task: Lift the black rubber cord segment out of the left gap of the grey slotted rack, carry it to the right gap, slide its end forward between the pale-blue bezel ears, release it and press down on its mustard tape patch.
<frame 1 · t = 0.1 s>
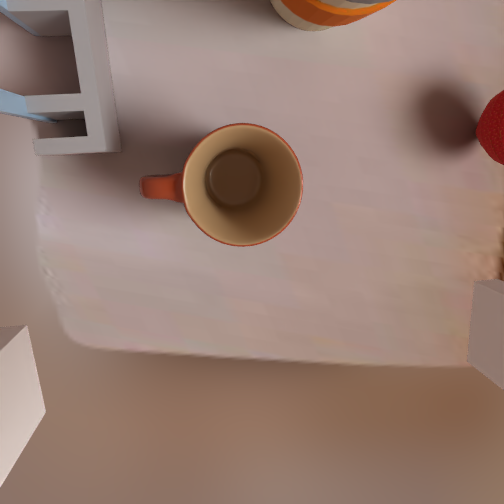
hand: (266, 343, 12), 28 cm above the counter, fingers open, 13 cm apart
strawberry: (478, 130, 40), on the counter
blue bezel: (44, 71, 34), on the counter
mug: (215, 178, 38), on the counter
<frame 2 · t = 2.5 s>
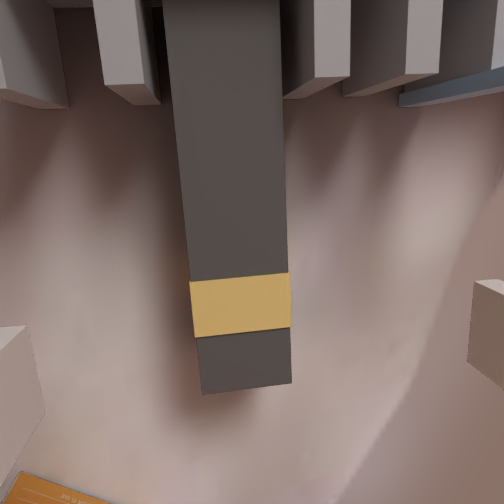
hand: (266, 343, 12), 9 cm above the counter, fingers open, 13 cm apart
blue bezel: (477, 97, 20), on the counter
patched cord: (227, 195, 20), on the counter
grey slotted rack: (364, 82, 19), on the counter
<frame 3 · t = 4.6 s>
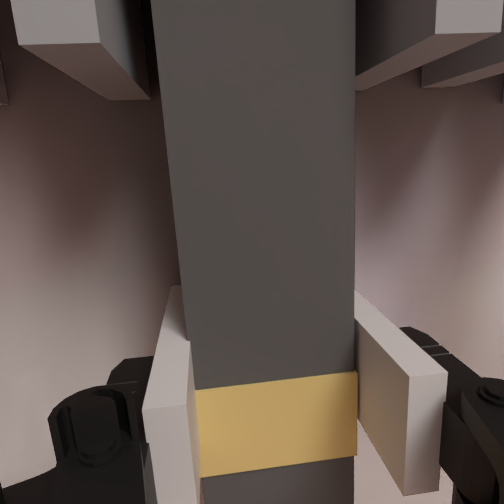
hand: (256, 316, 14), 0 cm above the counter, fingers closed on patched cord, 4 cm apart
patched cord: (248, 234, 13), on the counter, touching gripper
grey slotted rack: (454, 66, 13), on the counter
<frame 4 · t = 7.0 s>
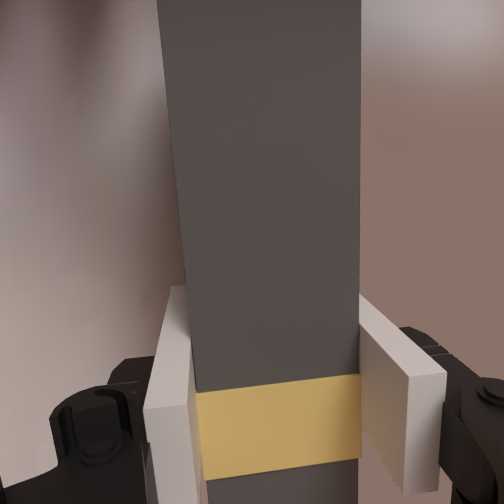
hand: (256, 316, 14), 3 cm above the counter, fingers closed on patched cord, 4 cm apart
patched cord: (250, 235, 13), point 3 cm above the counter, touching gripper
when the fingers open (1 cm above the counter, at t = 9.2 s): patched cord stays where it is, on the counter.
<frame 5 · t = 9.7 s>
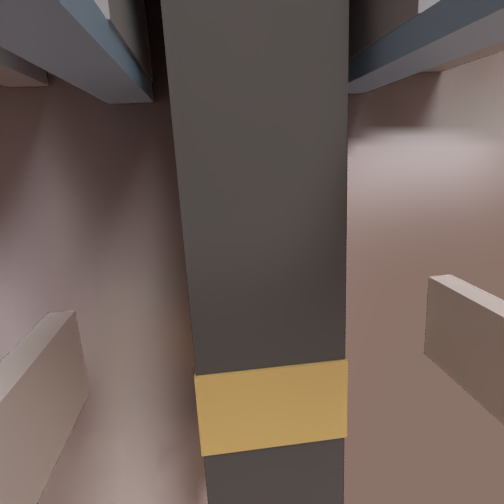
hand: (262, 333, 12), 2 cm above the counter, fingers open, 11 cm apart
blue bezel: (240, 88, 13), on the counter
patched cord: (247, 231, 14), on the counter
grey slotted rack: (41, 64, 12), on the counter
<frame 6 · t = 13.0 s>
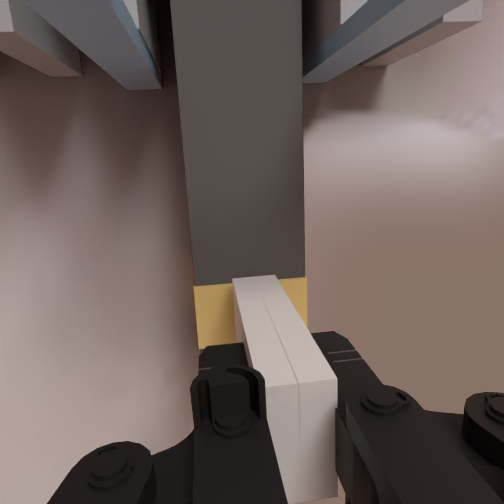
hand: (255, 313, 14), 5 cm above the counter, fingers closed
blue bezel: (228, 78, 17), on the counter
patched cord: (235, 191, 18), on the counter
grey slotted rack: (77, 59, 16), on the counter
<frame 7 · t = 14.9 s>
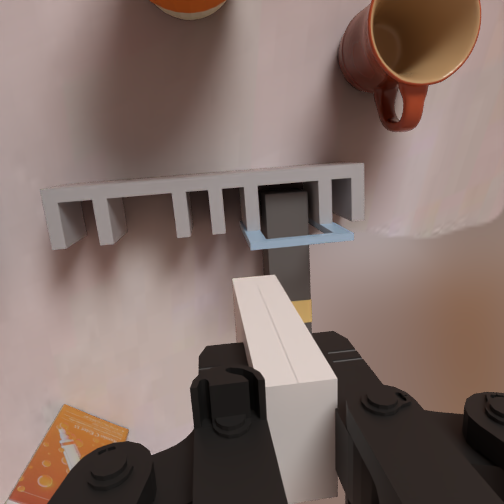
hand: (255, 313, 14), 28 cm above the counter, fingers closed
small box: (86, 435, 45), on the counter
blue bezel: (279, 220, 42), on the counter
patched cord: (281, 262, 43), on the counter
mug: (368, 74, 39), on the counter
grey slotted rack: (221, 216, 41), on the counter
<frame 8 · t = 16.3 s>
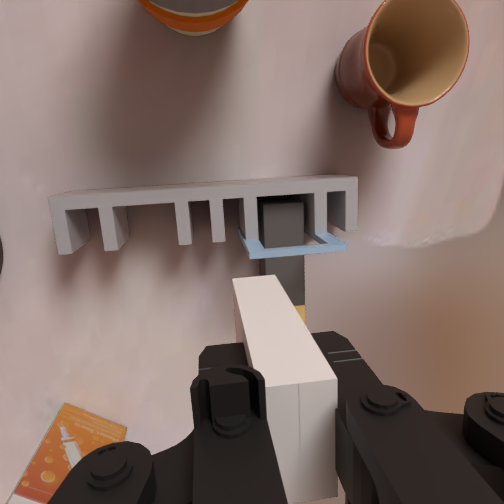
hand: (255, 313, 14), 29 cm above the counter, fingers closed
small box: (85, 433, 47), on the counter
blue bezel: (275, 228, 43), on the counter
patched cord: (277, 269, 45), on the counter
mug: (363, 90, 41), on the counter
grey slotted rack: (221, 224, 43), on the counter
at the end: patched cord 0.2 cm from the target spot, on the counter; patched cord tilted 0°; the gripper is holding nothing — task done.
